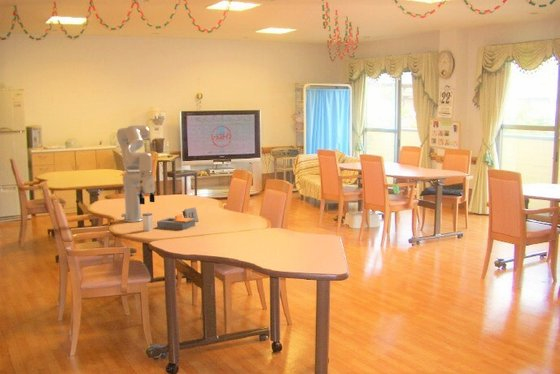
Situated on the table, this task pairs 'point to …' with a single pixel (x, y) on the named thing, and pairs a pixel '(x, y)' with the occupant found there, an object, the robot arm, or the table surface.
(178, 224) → the socket housing
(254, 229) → the table surface
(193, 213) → the electrical switch
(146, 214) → the plug
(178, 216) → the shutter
